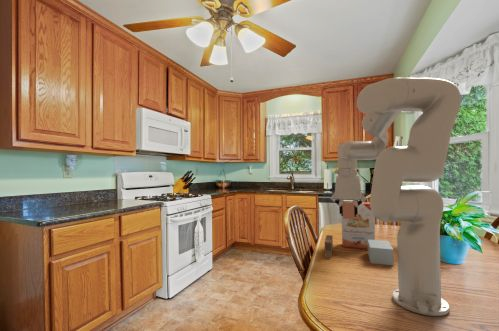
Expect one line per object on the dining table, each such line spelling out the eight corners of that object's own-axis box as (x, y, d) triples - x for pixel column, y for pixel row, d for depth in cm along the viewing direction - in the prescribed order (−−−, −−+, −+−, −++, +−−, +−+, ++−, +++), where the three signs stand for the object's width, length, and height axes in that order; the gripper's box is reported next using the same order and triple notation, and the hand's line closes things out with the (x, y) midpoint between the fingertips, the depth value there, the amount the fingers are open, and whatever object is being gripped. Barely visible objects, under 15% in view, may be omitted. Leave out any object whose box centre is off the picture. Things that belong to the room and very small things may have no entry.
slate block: (394, 265, 93) (393, 249, 93) (370, 262, 96) (370, 247, 96) (388, 255, 104) (388, 241, 104) (367, 253, 107) (367, 239, 107)
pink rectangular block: (354, 219, 99) (354, 203, 99) (342, 218, 101) (342, 202, 101) (353, 215, 109) (353, 200, 109) (343, 214, 110) (342, 199, 110)
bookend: (331, 258, 101) (330, 242, 101) (324, 258, 102) (324, 242, 102) (332, 249, 112) (332, 235, 113) (327, 249, 113) (326, 235, 113)
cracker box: (342, 247, 116) (341, 202, 116) (341, 243, 122) (340, 201, 122) (375, 249, 112) (374, 203, 112) (373, 245, 118) (372, 201, 118)
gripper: (326, 173, 105) (327, 216, 104) (370, 172, 99) (371, 218, 98) (327, 173, 112) (328, 213, 111) (368, 172, 106) (369, 215, 105)
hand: (348, 215), depth 105 cm, fingers closed on pink rectangular block, 4 cm apart
